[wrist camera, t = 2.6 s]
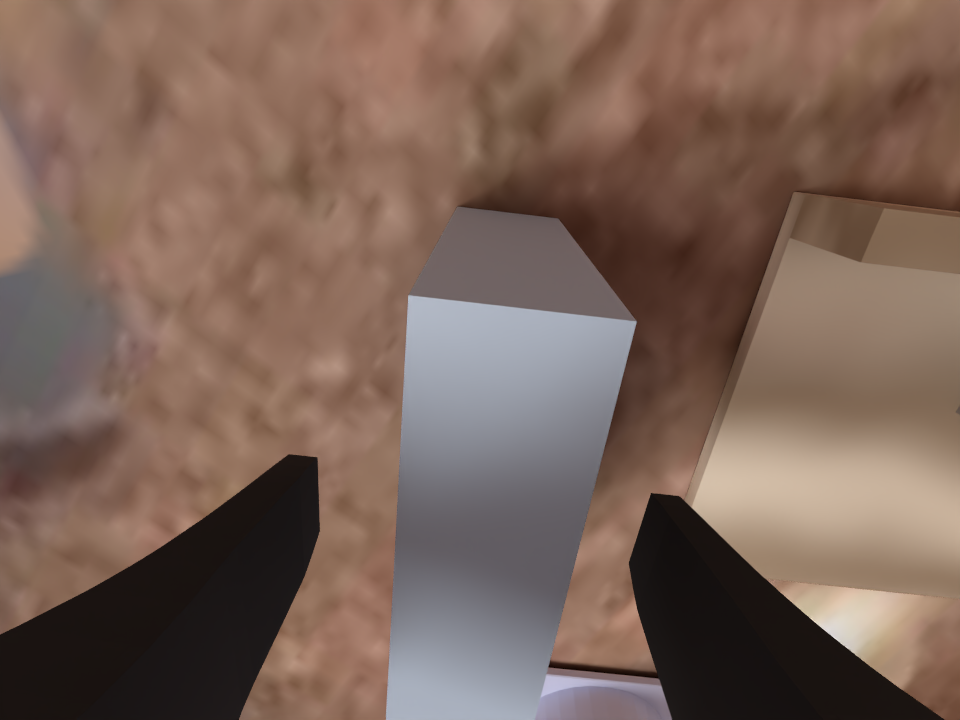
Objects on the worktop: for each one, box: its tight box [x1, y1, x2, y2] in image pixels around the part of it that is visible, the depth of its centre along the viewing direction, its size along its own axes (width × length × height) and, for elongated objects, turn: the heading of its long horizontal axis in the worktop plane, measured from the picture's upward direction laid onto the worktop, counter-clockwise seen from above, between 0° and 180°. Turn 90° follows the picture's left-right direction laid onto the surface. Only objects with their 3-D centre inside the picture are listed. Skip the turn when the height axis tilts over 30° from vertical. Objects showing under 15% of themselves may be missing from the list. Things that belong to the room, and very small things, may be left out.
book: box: [386, 207, 637, 720], centre depth 13 cm, size 11×3×9 cm, turn 174°
